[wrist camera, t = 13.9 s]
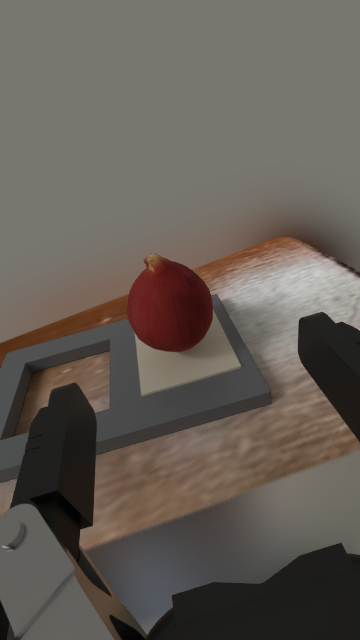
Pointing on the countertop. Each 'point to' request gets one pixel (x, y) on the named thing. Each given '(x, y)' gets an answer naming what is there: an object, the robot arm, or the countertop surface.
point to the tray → (140, 384)
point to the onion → (169, 306)
